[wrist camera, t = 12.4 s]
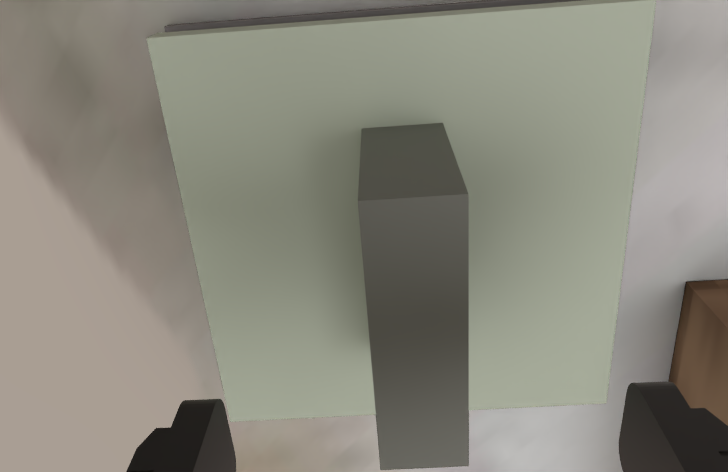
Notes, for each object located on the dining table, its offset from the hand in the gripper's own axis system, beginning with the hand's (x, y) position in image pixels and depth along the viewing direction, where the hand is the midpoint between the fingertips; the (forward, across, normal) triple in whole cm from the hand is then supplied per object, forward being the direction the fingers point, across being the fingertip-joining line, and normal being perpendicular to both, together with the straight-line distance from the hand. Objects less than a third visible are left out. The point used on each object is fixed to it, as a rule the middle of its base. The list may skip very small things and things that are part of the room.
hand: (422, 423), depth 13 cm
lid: (+10, 0, 0) cm, 10 cm away
